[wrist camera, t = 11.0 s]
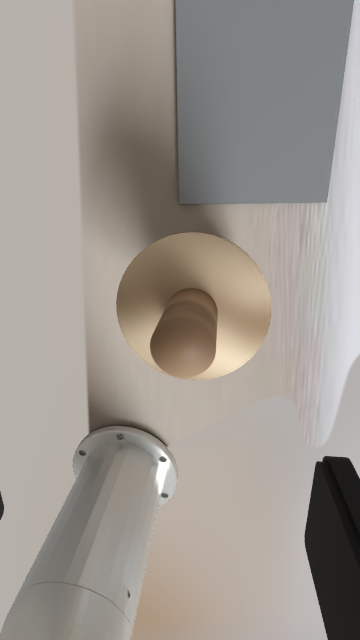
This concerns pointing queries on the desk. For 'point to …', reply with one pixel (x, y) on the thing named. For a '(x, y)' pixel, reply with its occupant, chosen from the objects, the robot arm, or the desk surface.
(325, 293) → the desk surface
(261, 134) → the mat
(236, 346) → the lid
